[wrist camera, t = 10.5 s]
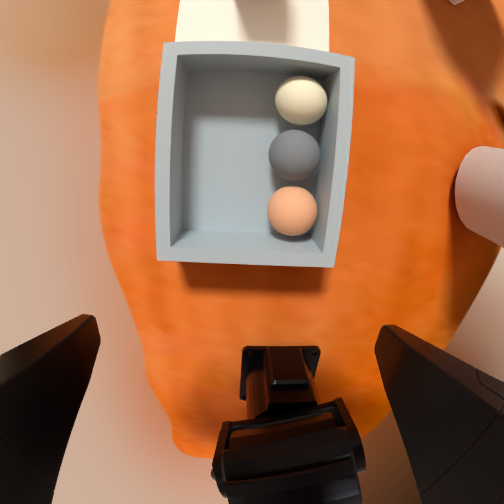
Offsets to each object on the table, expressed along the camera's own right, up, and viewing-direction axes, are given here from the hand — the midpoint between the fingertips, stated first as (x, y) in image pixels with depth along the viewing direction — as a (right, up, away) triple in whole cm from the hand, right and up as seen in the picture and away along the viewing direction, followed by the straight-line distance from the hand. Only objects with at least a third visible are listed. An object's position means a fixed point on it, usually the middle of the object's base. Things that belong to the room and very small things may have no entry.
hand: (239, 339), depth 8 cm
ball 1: (+3, +12, +8) cm, 15 cm away
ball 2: (+3, +9, +9) cm, 13 cm away
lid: (+1, +21, +6) cm, 22 cm away
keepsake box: (0, +9, +10) cm, 13 cm away
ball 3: (+3, +5, +10) cm, 12 cm away
